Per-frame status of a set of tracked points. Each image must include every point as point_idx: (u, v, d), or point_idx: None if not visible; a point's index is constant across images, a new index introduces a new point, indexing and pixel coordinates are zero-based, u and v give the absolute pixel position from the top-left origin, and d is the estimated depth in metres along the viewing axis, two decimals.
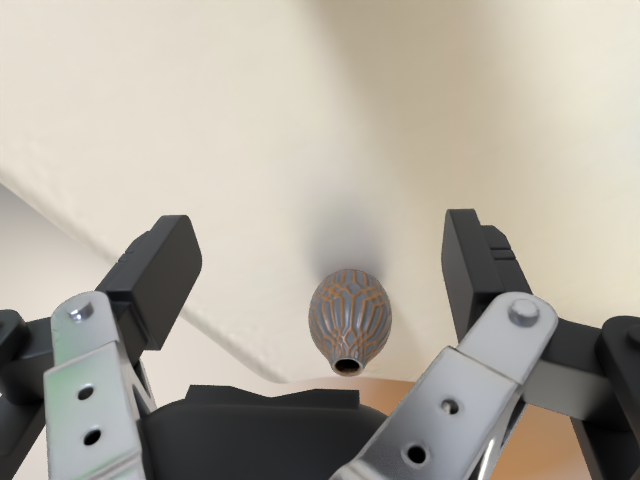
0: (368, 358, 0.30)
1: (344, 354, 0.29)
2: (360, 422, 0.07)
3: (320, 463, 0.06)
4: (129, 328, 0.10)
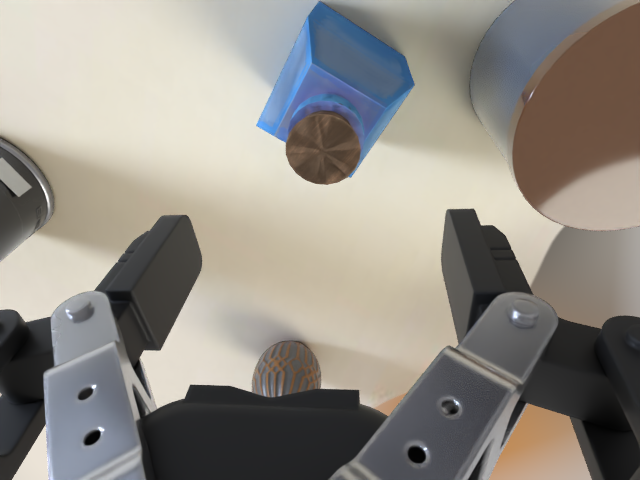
0: None
1: None
2: (360, 422, 0.07)
3: (320, 463, 0.06)
4: (129, 328, 0.10)
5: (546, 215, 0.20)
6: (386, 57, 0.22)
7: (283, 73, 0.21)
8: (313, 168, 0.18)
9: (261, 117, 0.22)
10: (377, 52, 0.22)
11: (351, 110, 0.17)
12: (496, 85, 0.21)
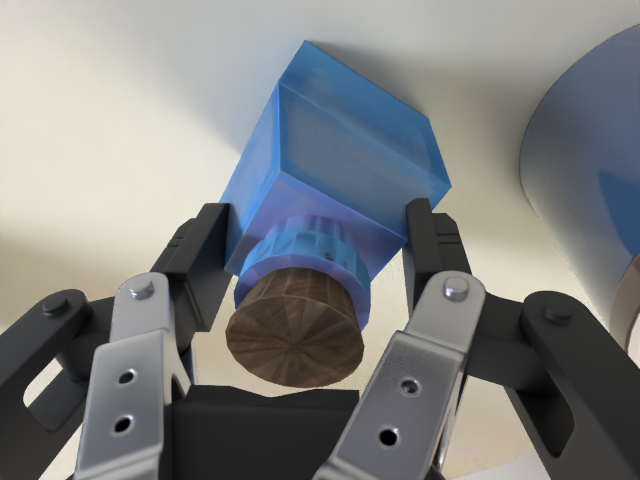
0: None
1: None
2: None
3: (320, 463, 0.06)
4: (185, 308, 0.10)
5: None
6: (405, 134, 0.14)
7: (240, 166, 0.13)
8: (278, 367, 0.10)
9: None
10: (391, 127, 0.14)
11: (348, 267, 0.09)
12: (580, 186, 0.13)
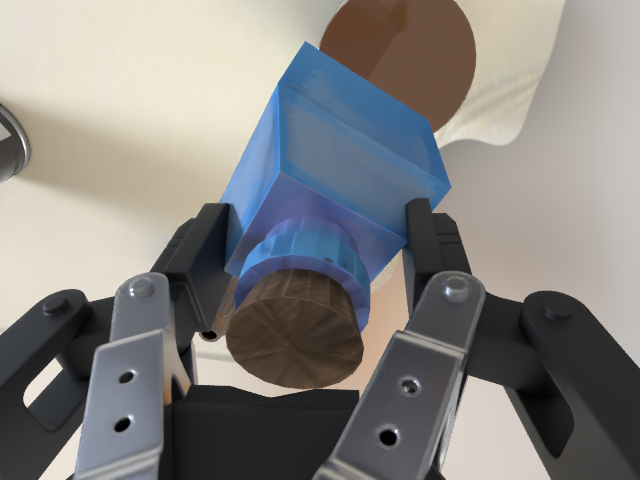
0: (217, 323, 0.47)
1: None
2: None
3: (320, 463, 0.06)
4: (185, 308, 0.10)
5: None
6: (404, 135, 0.14)
7: (240, 167, 0.13)
8: (278, 368, 0.10)
9: None
10: (391, 128, 0.14)
11: (347, 269, 0.09)
12: None
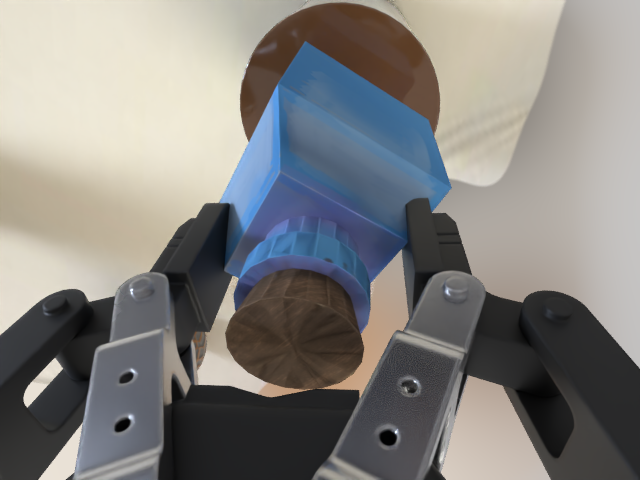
0: None
1: None
2: None
3: (320, 463, 0.06)
4: (185, 308, 0.10)
5: None
6: (405, 135, 0.14)
7: (240, 167, 0.13)
8: (278, 368, 0.10)
9: None
10: (391, 128, 0.14)
11: (348, 269, 0.09)
12: None
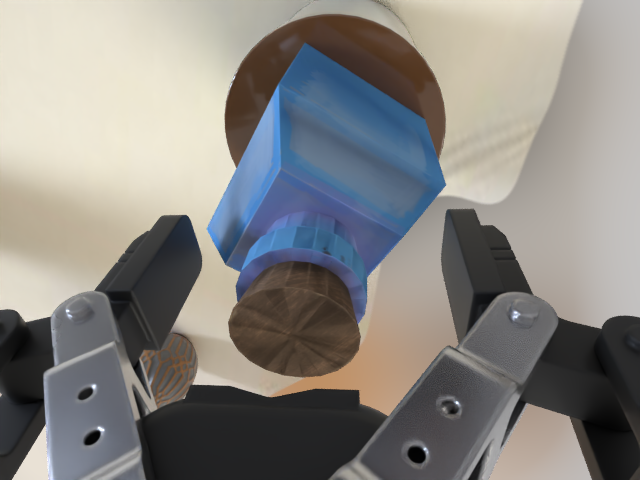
0: None
1: None
2: (360, 422, 0.07)
3: (320, 463, 0.06)
4: (129, 328, 0.10)
5: None
6: (401, 134, 0.15)
7: (242, 165, 0.13)
8: (278, 356, 0.10)
9: (213, 220, 0.15)
10: (388, 127, 0.15)
11: (345, 261, 0.10)
12: None
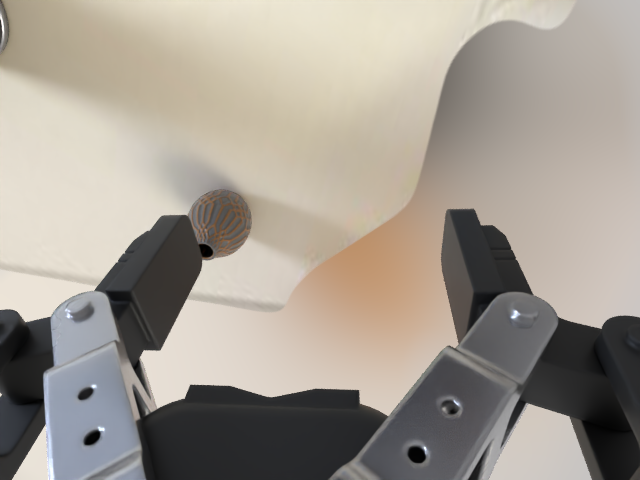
0: (215, 237, 0.41)
1: None
2: (360, 422, 0.07)
3: (320, 463, 0.06)
4: (129, 328, 0.10)
5: None
6: None
7: None
8: None
9: None
10: None
11: None
12: None
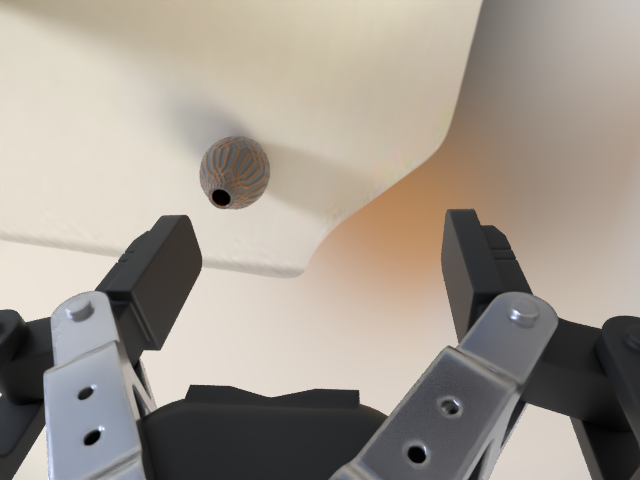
0: (232, 183, 0.38)
1: (209, 190, 0.38)
2: (360, 422, 0.07)
3: (320, 463, 0.06)
4: (129, 328, 0.10)
5: None
6: None
7: None
8: None
9: None
10: None
11: None
12: None
